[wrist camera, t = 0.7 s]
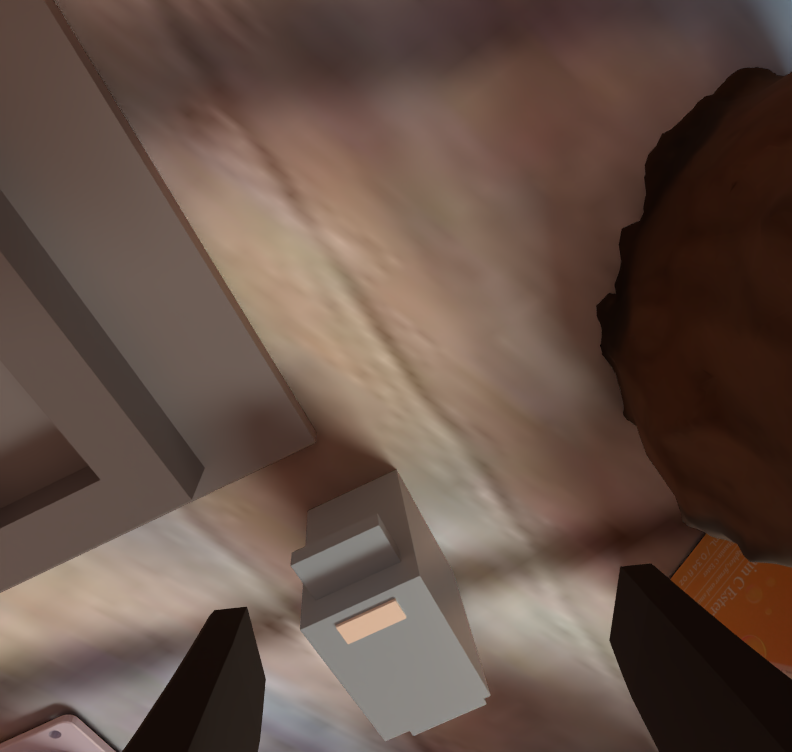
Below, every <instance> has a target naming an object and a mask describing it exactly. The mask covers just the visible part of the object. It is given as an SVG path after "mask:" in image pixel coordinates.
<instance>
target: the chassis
mask: <svg viewBox="0 0 792 752" xmlns="http://www.w3.org/2000/svg"><path fill="white" fill-rule="evenodd" d="M314 443H316V431H315V429H314V428H313V426H312V425H311V423H310V421H309V420H308V418H307V416H306V415H305V413H304V411H303V410H302V408H301V406H300V405H299V403H298V402H297V400H296V398H295V397H294V395H293V393H292V392H291V390H290V388H289V387H288V385H287V383H286V382H285V380H284V379H283V377H282V375H281V374H280V372H279V370H278V369H277V367H276V365H275V364H274V362H273V360H272V359H271V357H270V356H269V354H268V352H267V351H266V349H265V347H264V346H263V344H262V342H261V341H260V339H259V337H258V336H257V334H256V332H255V331H254V329H253V328H252V326H251V324H250V323H249V321H248V319H247V318H246V316H245V314H244V313H243V311H242V309H241V308H240V306H239V305H238V303H237V301H236V300H235V298H234V296H233V295H232V293H231V291H230V290H229V288H228V286H227V285H226V283H225V282H224V280H223V278H222V277H221V275H220V273H219V272H218V270H217V268H216V267H215V265H214V263H213V262H212V260H211V259H210V257H209V255H208V254H207V252H206V250H205V249H204V247H203V245H202V244H201V242H200V240H199V239H198V237H197V236H196V234H195V232H194V231H193V229H192V227H191V226H190V224H189V222H188V221H187V219H186V217H185V216H184V214H183V212H182V211H181V209H180V208H179V206H178V204H177V203H176V201H175V199H174V198H173V196H172V194H171V193H170V191H169V189H168V188H167V186H166V185H165V183H164V181H163V180H162V178H161V176H160V175H159V173H158V171H157V170H156V168H155V166H154V165H153V163H152V162H151V160H150V158H149V157H148V155H147V153H146V152H145V150H144V148H143V147H142V145H141V143H140V142H139V140H138V139H137V137H136V135H135V134H134V132H133V130H132V129H131V127H130V125H129V124H128V122H127V120H126V119H125V117H124V116H123V114H122V112H121V111H120V109H119V107H118V106H117V104H116V102H115V101H114V99H113V97H112V96H111V94H110V92H109V91H108V89H107V88H106V86H105V84H104V83H103V81H102V79H101V78H100V76H99V74H98V73H97V71H96V69H95V68H94V66H93V65H92V63H91V61H90V60H89V58H88V56H87V55H86V53H85V51H84V50H83V48H82V46H81V45H80V43H79V42H78V40H77V38H76V37H75V35H74V33H73V32H72V30H71V28H70V27H69V25H68V23H67V22H66V20H65V19H64V17H63V15H62V14H61V12H60V10H59V9H58V7H57V5H56V4H55V2H54V0H0V593H1V592H3V591H5V590H7V589H10V588H12V587H14V586H16V585H18V584H20V583H22V582H24V581H26V580H28V579H31V578H33V577H35V576H37V575H39V574H41V573H43V572H45V571H47V570H49V569H52V568H54V567H56V566H58V565H60V564H62V563H64V562H66V561H68V560H70V559H73V558H75V557H77V556H79V555H81V554H83V553H85V552H87V551H89V550H91V549H94V548H96V547H98V546H100V545H102V544H104V543H106V542H108V541H110V540H112V539H115V538H117V537H119V536H121V535H123V534H125V533H127V532H129V531H131V530H134V529H136V528H138V527H140V526H142V525H144V524H146V523H148V522H150V521H152V520H155V519H157V518H159V517H161V516H163V515H165V514H167V513H169V512H171V511H173V510H176V509H178V508H180V507H182V506H184V505H186V504H188V503H190V502H192V501H194V500H197V499H199V498H201V497H203V496H205V495H207V494H209V493H211V492H213V491H215V490H218V489H220V488H222V487H224V486H226V485H228V484H230V483H232V482H234V481H236V480H239V479H241V478H243V477H245V476H247V475H249V474H251V473H253V472H255V471H257V470H260V469H262V468H264V467H266V466H268V465H270V464H272V463H274V462H276V461H279V460H281V459H283V458H285V457H287V456H289V455H291V454H293V453H295V452H297V451H300V450H302V449H304V448H306V447H308V446H310V445H312V444H314Z"/></svg>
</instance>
